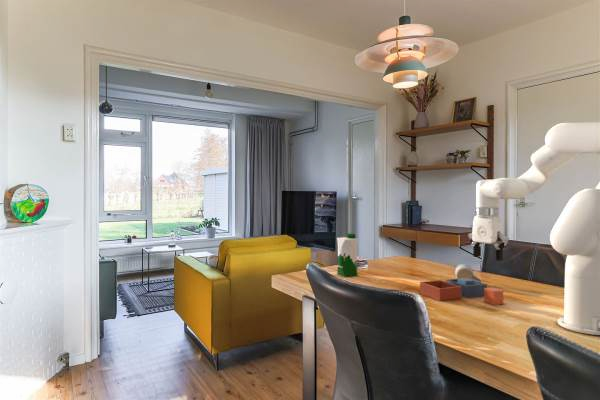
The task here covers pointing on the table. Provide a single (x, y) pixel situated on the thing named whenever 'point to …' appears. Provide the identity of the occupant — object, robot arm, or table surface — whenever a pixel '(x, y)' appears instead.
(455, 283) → the slate bin
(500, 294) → the terracotta block
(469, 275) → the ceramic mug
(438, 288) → the terracotta bin
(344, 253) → the milk carton
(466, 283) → the slate block
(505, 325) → the table surface
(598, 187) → the robot arm
